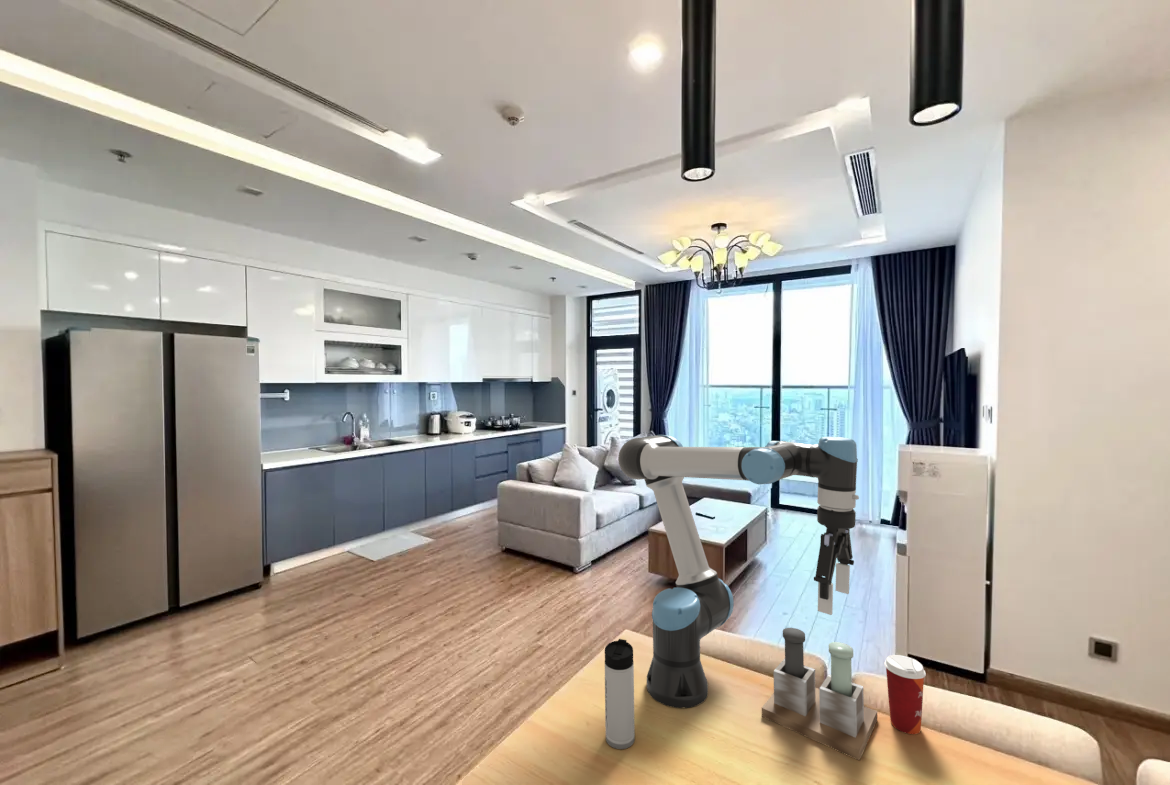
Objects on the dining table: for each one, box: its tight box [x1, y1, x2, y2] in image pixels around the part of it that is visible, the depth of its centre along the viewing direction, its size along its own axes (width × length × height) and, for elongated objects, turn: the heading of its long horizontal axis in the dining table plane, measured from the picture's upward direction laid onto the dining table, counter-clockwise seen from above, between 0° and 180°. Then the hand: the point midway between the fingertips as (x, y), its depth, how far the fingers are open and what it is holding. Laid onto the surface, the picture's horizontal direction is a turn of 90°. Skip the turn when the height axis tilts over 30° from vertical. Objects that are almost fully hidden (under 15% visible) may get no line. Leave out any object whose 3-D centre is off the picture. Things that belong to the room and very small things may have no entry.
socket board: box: [761, 657, 878, 761], centre depth 109 cm, size 20×16×10 cm
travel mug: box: [604, 638, 636, 750], centre depth 104 cm, size 6×7×20 cm
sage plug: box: [828, 641, 854, 697], centre depth 105 cm, size 5×5×11 cm
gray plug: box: [782, 627, 806, 679], centre depth 112 cm, size 5×5×11 cm
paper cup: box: [883, 654, 927, 735], centre depth 107 cm, size 8×8×14 cm
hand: (834, 601), depth 107 cm, fingers open, 13 cm apart
